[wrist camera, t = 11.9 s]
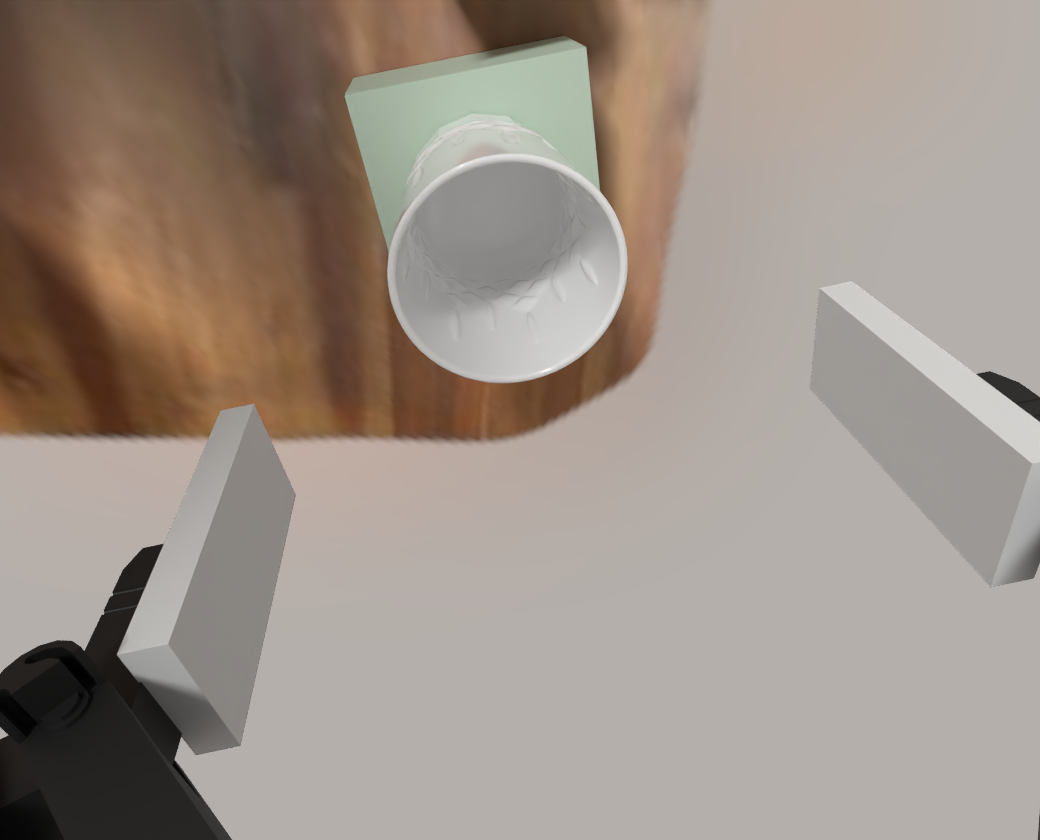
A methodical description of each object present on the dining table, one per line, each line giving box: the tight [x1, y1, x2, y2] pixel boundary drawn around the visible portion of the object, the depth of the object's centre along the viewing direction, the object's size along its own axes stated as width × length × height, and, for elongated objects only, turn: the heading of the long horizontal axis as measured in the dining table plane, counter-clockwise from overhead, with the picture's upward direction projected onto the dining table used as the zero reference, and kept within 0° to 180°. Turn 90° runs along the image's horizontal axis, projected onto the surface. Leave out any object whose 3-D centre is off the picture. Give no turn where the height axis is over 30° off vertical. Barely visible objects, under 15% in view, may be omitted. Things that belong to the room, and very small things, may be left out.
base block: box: [344, 36, 600, 252], centre depth 33 cm, size 10×10×5 cm
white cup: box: [387, 113, 628, 383], centre depth 27 cm, size 8×8×10 cm
